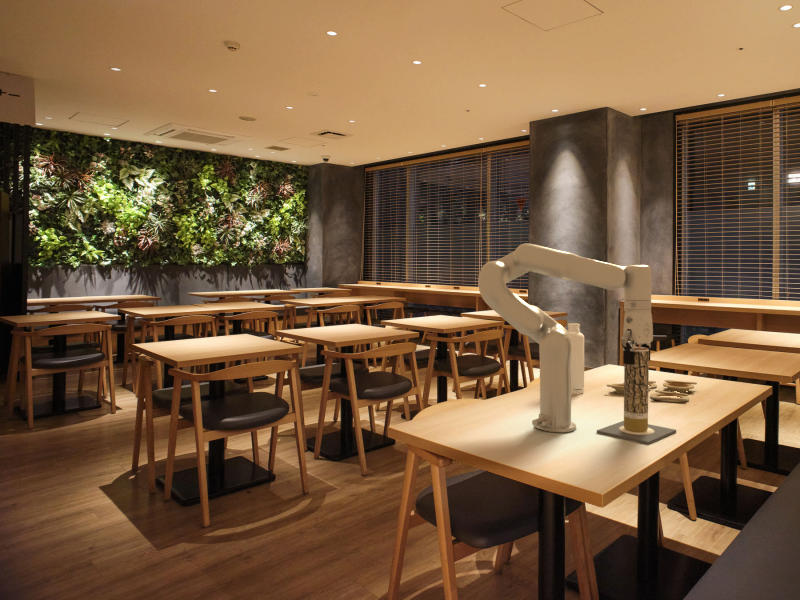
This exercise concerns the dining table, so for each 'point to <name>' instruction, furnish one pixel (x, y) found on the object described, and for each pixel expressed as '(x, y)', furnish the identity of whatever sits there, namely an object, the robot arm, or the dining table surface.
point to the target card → (637, 433)
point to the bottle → (577, 358)
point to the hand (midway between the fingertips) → (637, 362)
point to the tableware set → (671, 385)
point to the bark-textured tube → (636, 392)
